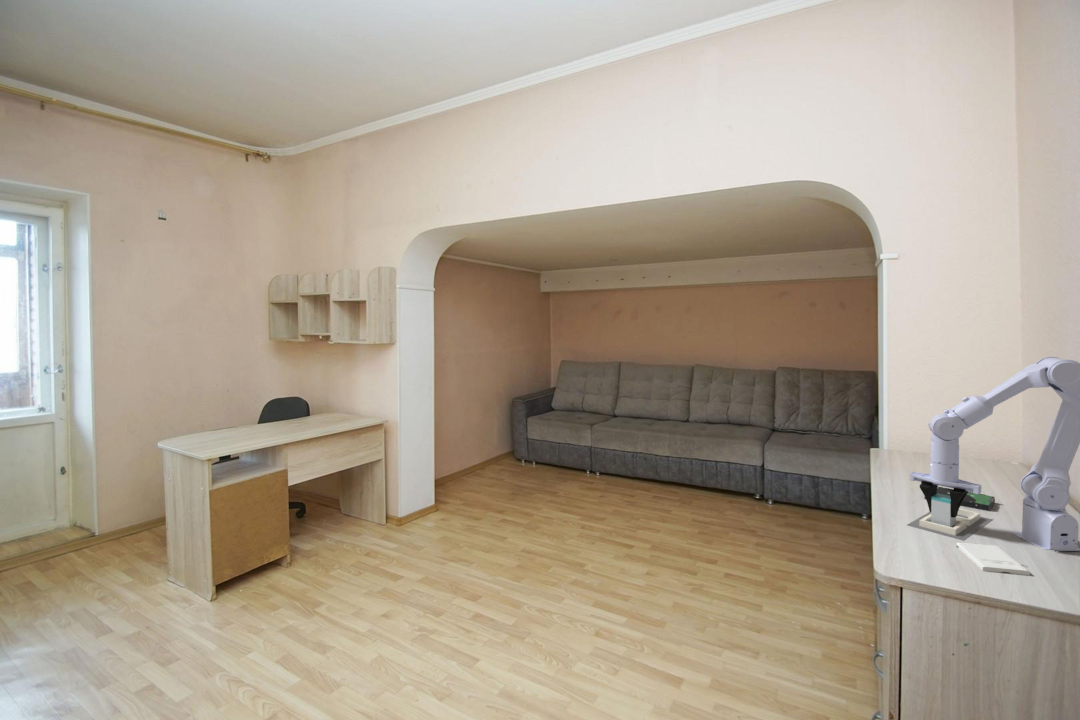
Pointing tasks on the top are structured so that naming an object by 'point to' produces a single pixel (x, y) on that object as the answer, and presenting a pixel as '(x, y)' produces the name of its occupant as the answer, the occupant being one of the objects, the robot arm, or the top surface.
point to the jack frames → (959, 526)
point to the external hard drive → (992, 558)
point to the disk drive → (972, 499)
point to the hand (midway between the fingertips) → (943, 513)
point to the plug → (942, 510)
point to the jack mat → (962, 534)
